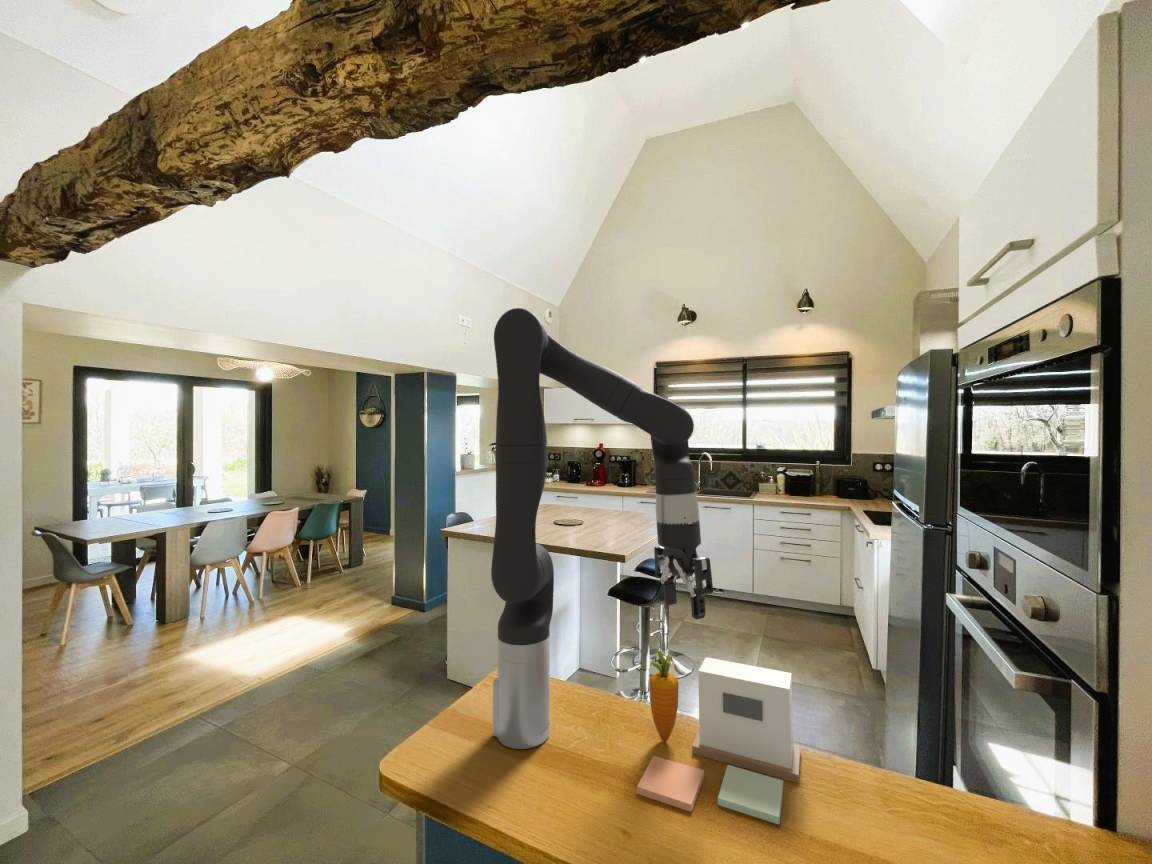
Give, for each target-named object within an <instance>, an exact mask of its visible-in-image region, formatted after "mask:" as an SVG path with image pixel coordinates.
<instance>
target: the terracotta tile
mask: <svg viewBox="0 0 1152 864" xmlns="http://www.w3.org/2000/svg"><path fill="white" fill-rule="evenodd" d="M704 778H705V770H704V769H700V768H698V767H693V766H691V765H686V764H683V763H681V762H678V761H677V762H676V761H674V760H670V759H668V758H667V759H666V758H664V757H660V756H656V755H653V756H652V758H651V760H650V762H649V763H648V765H647V767H646V769H645V771H644V773H643V774H642V777H641V778H640V780H639V782H638V784H637V786H636V794H637V795H641V796H643V797H645V798H649V799H651V800H655V801H657V802H661V803H663V804H667V805H670V806H672V807H676V808H678V809H682V810H684V811H687V812H690V813H692V812H693V810H694V808H695V804H696V801H697V799H698V796H699V793H700V790H701V787H702V784H703V782H704Z"/></svg>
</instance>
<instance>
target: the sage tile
mask: <svg viewBox="0 0 1152 864" xmlns="http://www.w3.org/2000/svg"><path fill="white" fill-rule="evenodd" d="M783 792H784V779H781V778H777V777H774V776H772V777H771V776H770V775H767V774H763V773H759V772H756V771H752V770H749V769H745V768H744V769H743V768H742V767H738V766H735V765H731V764H727V765H726V768H725V773H724V776H723V780H722V782H721V786H720V789H719V792H718V796H717V806H720V807H723V808H726V809H729V810H732V811H736V812H738V813H742V814H744V815H748V816H751V817H755V818H757V819H760V820H763V821H765V822H769V823H773V824H776V825H778V826H779V825H780V824H781V823H780V822H781V815H782V814H781V811H782V805H783V802H782V801H783V794H784V793H783Z"/></svg>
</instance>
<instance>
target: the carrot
mask: <svg viewBox="0 0 1152 864" xmlns="http://www.w3.org/2000/svg"><path fill="white" fill-rule="evenodd" d="M656 653H657V655H658V659H659V660H660V661H653V662H652V666H653V667H655V668H657V670H658V671H655V673H653V674H652V675H651V676H650V677H649V679H648V680H649V681H648V682H649V684H648V685H649V701H650V709H651V714H652V719H653V723H654V726H655V729H656V732H657V734H658V735H659V738H660V739H661V740H660V741H662V742H663V743H666V742H668V740H669V739H670V737H671V735H672V733H673V730H674V727H675V725H676V721H677V715H678V708H679V681H678V679H677V677H676V676H675V675H674V674H673V673H672V672H669V671H670V667H671V656H670V655H669V654H668V655H666V661H665V657H664V654H663V652H662V650H660V649H658V650H657V652H656Z"/></svg>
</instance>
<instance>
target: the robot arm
mask: <svg viewBox="0 0 1152 864" xmlns="http://www.w3.org/2000/svg"><path fill="white" fill-rule="evenodd" d="M493 344H494V351H495V352H494V354H495V360H496V361H495V363H496V372H497V384H498V385H497V392H498V393H497V405H496V406H497V407H496V421H495V422H496V423H495V424H496V425H495V530H494V538H493V539H494V541H493V551H492V557H491V568H490V569H491V572H490V573H491V583H492V586H493V588H494V590H495V592H496V594H497V596H498V597H499V598H500V599H501V600H502V601H504V602H505V604H504V608H503V611H502V613H501V615H500V617H499V620H498V623H497V677H496V678H494V679H493V680H492V681H493V682H492V736H493V737H495V738H497V740H498V741H499V742H500V743H501V745H503V746H504V747H507V748H510V749H515V750H525V749H527V750H529V749H531V748H535V747H538V746H540V745H542V744H543V743H545V742H546V741H547V739H548V738H549V736H550V729H551V728H550V724H551V723H550V722H551V720H550V712H551V711H550V700H551V699H550V695H551V693H550V690H551V688H550V687H551V686H550V682H551V681H550V675H551V674H550V670H551V669H550V662H551V661H550V659H551V657H550V656H551V655H550V653H551V652H550V627H551V622H552V621H551V620H552V617H553V612H554V611H553V610H554V592H555V591H554V590H555V589H554V583H555V581H554V580H555V573H554V572H555V570H554V563H553V559H552V557H551V555H550V553H549V551H548V550H547V549H546V548H545V547H544V546H542V545H541V544H539V543H537V536H536V535H537V534H536V528H537V527H536V525H537V516H538V515H537V514H538V511H539V506H540V502H541V499H542V496H543V492H544V488H545V484H546V479H547V471H548V468H547V467H548V446H547V445H548V441H547V438H548V437H547V427H546V421H545V414H544V410H543V404H542V397H541V390H540V374H541V375H544V376H546V377H547V378H549V379H552V380H553V381H556V382H558V383H559V384H562V385H564V386H565V387H567V388H569V389H570V390H572V391H573V392H575V393H576V394H578V395H580V396H581V397H582V398H584V399H586V400H587V401H589V402H590V403H592V404H594V405H596V406H597V407H599V408H600V409H602V410H603V411H604V412H605V411H606V412H607V413H609V414H610V415H612V416H613V417H615V418H616V419H619V420H621V421H622V422H625V423H629V424H632V425H634V426H635V427H637V428H639V429H640V430H642V431H643V432H645V433H647V434H648V435H650V442H651V448H652V456H653V462H654V479H655V480H654V482H655V483H654V485H655V519H656V533H657V534H656V535H657V544H658V546H654V549H653V552H654V576H655V578H657V579H659V580H660V583H661V584H662V585H663V586H662V587H663V589H662V590H663V600H664V604H665V605H666V606H671V605H676V604H677V588H676V586H677V585H676V583H675V582H676V579H677V577H678V578H679V579H681V582H682V583H683V585H685V586H686V587H687V588H688V591H689V593H690V607H691V617H692V618H693V619H695V620H701V619H704V618H705V617H706V599H705V596H706V595H707V596H708V595H712V594H713V593H714V585H713V584H714V583H713V577H712V568H711V567H712V566H711V559H710V557H708V556H702V557H701V556H699V555H698V552H697V547H698V546H700V545H701V543H702V538H701V537H702V536H701V521H700V509H699V502H698V497H697V489H696V488H697V487H696V478H695V476H696V475H695V469H694V465H693V463H692V461H691V459H690V448H689V440H690V438H691V437H692V436H693V434H694V429H695V424H694V419H693V417H692V416H691V414H690V413H689V412H688V410H686V409H685V408H683V407H682V406H681V405H680V404H679V405H678V404H677V403H675V402H673V401H671V400H669V399H667V398H665V397H662V396H660V395H657V394H656V393H653V392H651V391H648V390H647V389H645V388H643V387H642V386H641V385H639V384H638V383H635V382H634V381H632V380H631V379H629V378H627V377H626V376H624V375H622V374H620V373H618V372H616V371H614V370H612V369H611V368H608V367H607V366H604V365H601V364H599V363H597V362H594V361H591V360H589V359H586V358H584V357H582V356H581V355H578V354H576V353H574V351H571V350H570V349H568V348H567V347H565V346H564V345H562V344H561V343H560V342H559V341H557V340H556V339H555V338H554V337H552V336H551V335H550V334H548V332H547V330H546V328H545V326H544V325H543V322H542V321H541V320H540V318H539V317H538V316H537V315H536V314H534V312H532V311H530V310H529V309H526V308H521V307H516V308H511V309H509V310H507V311H505V312H504V313H503V314H502V315H501V316H500V317H499V319H498V320H497V322H496V324H495V326H494V330H493ZM661 566H662V568H661ZM703 581H705V584H704V582H703ZM694 584H695V585H694Z"/></svg>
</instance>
